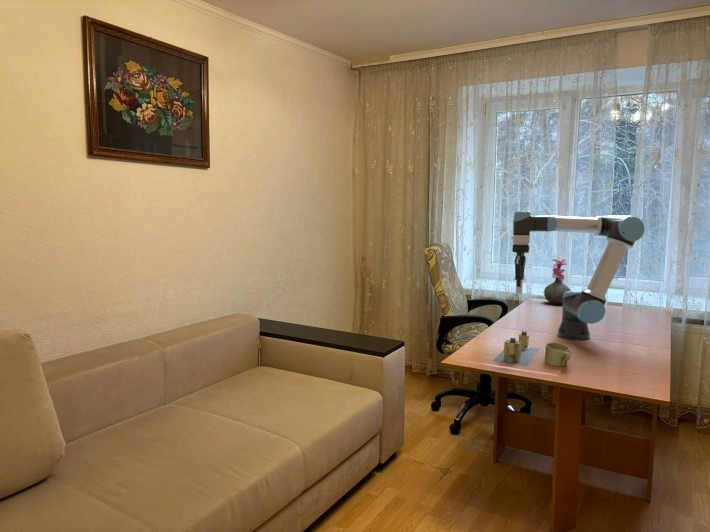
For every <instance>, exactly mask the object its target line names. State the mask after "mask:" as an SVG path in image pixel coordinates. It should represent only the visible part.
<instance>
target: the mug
mask: <svg viewBox="0 0 710 532" xmlns="http://www.w3.org/2000/svg"><path fill="white" fill-rule="evenodd" d="M544 356H545V357H544V362H545V363H546V364H548V365H551V366H558V367H563V368H565V366H567V365H568V361H569V360H570V359H571V356H572V355H571V349H570V347H569V346H568V345H566V344H562V343H559V342H548V343H546V344H545V355H544Z"/></svg>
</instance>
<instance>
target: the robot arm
mask: <svg viewBox="0 0 710 532" xmlns="http://www.w3.org/2000/svg"><path fill="white" fill-rule="evenodd" d="M512 222H513V225H512V228H513V231H512V236H511V239H512V243H513V244H512V248H511V250H512V251H511V252H513V253H516V255H515V257H514V280H515V294H518V295H519V294H520V295H521V294H523V284H524V283H523V281H525V278H524V277H525V267H526V259H527V258H526V255H525V254H528V253H530V245H529V244H530V242H531V241H530V240H531V238H530V237H531V236H530V235H531V232H547V233H549V232H565V233H566V232H567V233H583V234H584V233H585V234H593V235H594V236H600V237H606V240H607V245H606V247H605V249H604V252H603V254H602V255H601V258H600V259H599V262H598V264H597V266H596V269H595V270H594V271H593V275H592V277H591V279H590V281H589V283H588V285H587V287H586V288H585V289H582V290H581V291H580V290H579V291H575V290H574V291H573V290H571V291H567V292H564V295H563V304H562V311H561V313H562V314H561V315H562V316H561V322H560V324H559V327H558V329H557V336H558V337H560V338H563V339H569V340H578V341H581V340H588V339H590V337H591V332H590V329H589V325H590V324H591V325H593V324H596V323H597V324H598V323H599V322H600V321H602V320H603V319H604V318H605V316H606V307H605V306H606V303H607V298H606V295H607V292H608V290H609V288H610V286H611V285H612V284H611V283H612V281H613V280H614V278H615V276H616V274H617V272H618V269H619V268H620V266H621V263H622V262H623V258H624V257H625V255H626V253H627V251H628V250H629V249H632V248H633V247H634V244H635V242H636V241H639V240H640V239H641V238H642V237H643V236H644V234H645V231H646V230H645V225H644V222H643V221H642V219H641V218H640V217H637V216H634V215H631V214H627V215H624V214H623V215H622V214H614V215H613V214H612V215H596V216H595V217H587V216H586V217H584V216H564V215H563V216H562V215H550V214H549V215H546V214H545V215H544V214H543V215H542V214H533V213H532V214H531V211H530V210H527V211H525V210H523V211H522V210H520V211H519V210H518V211H515V212H514V213H513V220H512ZM588 324H589V325H588Z"/></svg>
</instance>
